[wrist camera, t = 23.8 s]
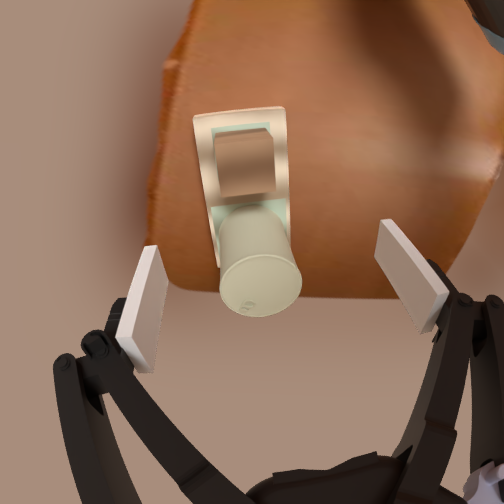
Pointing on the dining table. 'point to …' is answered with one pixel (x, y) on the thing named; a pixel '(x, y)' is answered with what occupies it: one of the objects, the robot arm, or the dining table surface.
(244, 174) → the cube
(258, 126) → the board
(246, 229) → the can
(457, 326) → the robot arm
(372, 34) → the dining table surface
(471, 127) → the dining table surface
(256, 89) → the dining table surface
